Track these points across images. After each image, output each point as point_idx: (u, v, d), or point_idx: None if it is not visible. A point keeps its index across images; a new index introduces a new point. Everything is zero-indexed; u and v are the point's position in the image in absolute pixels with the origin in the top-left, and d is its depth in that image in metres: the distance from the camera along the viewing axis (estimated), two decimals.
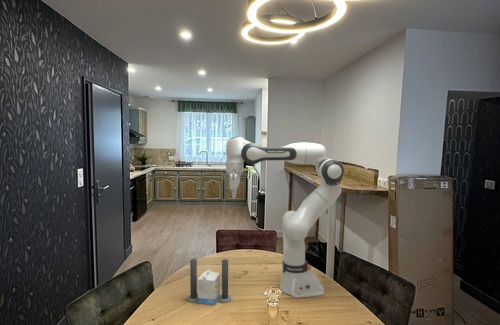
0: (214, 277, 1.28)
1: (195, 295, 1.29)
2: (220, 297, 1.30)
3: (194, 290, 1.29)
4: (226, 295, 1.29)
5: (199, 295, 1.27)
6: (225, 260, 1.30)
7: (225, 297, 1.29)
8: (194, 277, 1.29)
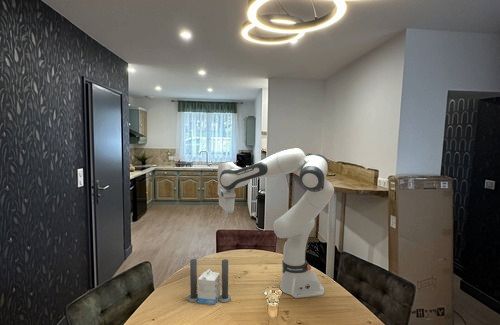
0: (214, 277, 1.28)
1: (195, 295, 1.29)
2: (220, 297, 1.30)
3: (194, 290, 1.29)
4: (226, 295, 1.29)
5: (199, 295, 1.27)
6: (225, 260, 1.30)
7: (225, 297, 1.29)
8: (194, 277, 1.29)
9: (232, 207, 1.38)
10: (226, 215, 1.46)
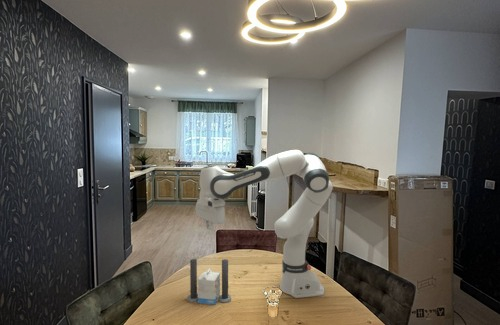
0: (214, 277, 1.28)
1: (195, 295, 1.29)
2: (220, 297, 1.30)
3: (194, 290, 1.29)
4: (226, 295, 1.29)
5: (199, 295, 1.27)
6: (225, 260, 1.30)
7: (225, 297, 1.29)
8: (194, 277, 1.29)
9: (223, 217, 1.21)
10: (210, 227, 1.27)
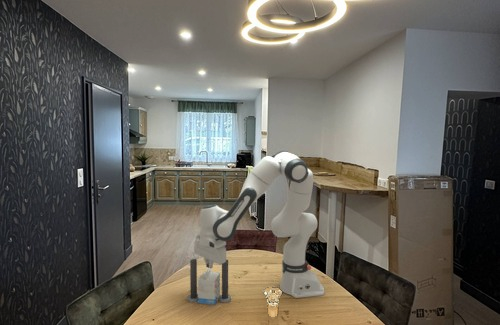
0: (214, 277, 1.28)
1: (195, 295, 1.29)
2: (220, 297, 1.30)
3: (194, 290, 1.29)
4: (226, 295, 1.29)
5: (199, 295, 1.27)
6: None
7: (225, 297, 1.29)
8: (194, 277, 1.29)
9: (225, 257, 1.23)
10: (211, 266, 1.28)
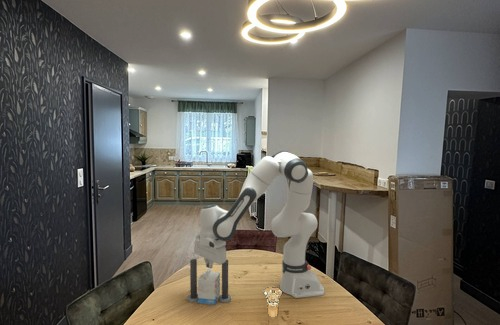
0: (214, 277, 1.28)
1: (195, 295, 1.29)
2: (220, 297, 1.30)
3: (194, 290, 1.29)
4: (226, 295, 1.29)
5: (199, 295, 1.27)
6: None
7: (225, 297, 1.29)
8: (194, 277, 1.29)
9: (225, 257, 1.23)
10: (211, 266, 1.29)
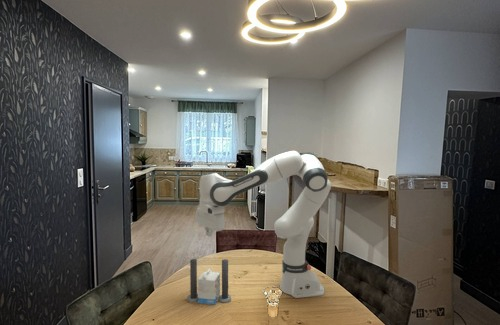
0: (214, 277, 1.28)
1: (195, 295, 1.29)
2: (220, 297, 1.30)
3: (194, 290, 1.29)
4: (226, 295, 1.29)
5: (199, 295, 1.27)
6: (225, 260, 1.30)
7: (225, 297, 1.29)
8: (194, 277, 1.29)
9: (223, 224, 1.22)
10: (210, 234, 1.28)
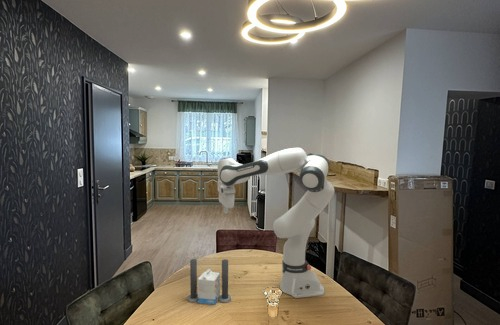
0: (214, 277, 1.28)
1: (195, 295, 1.29)
2: (220, 297, 1.30)
3: (194, 290, 1.29)
4: (226, 295, 1.29)
5: (199, 295, 1.27)
6: (225, 260, 1.30)
7: (225, 297, 1.29)
8: (194, 277, 1.29)
9: (232, 203, 1.38)
10: (226, 211, 1.46)
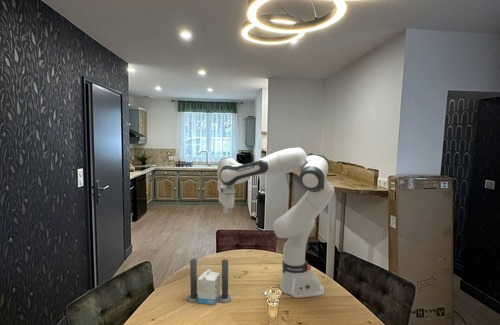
0: (214, 277, 1.28)
1: (195, 295, 1.29)
2: (220, 297, 1.30)
3: (194, 290, 1.29)
4: (226, 295, 1.29)
5: (199, 295, 1.27)
6: (225, 260, 1.30)
7: (225, 297, 1.29)
8: (194, 277, 1.29)
9: (232, 203, 1.38)
10: (226, 211, 1.46)
